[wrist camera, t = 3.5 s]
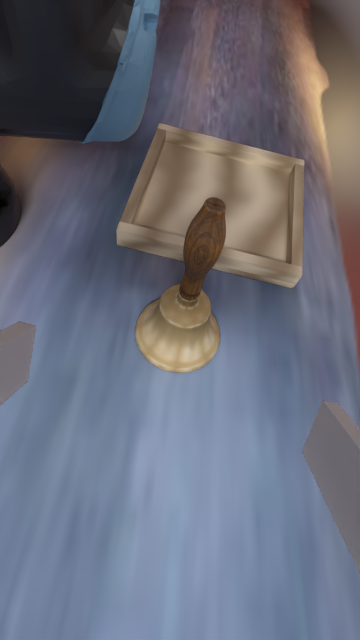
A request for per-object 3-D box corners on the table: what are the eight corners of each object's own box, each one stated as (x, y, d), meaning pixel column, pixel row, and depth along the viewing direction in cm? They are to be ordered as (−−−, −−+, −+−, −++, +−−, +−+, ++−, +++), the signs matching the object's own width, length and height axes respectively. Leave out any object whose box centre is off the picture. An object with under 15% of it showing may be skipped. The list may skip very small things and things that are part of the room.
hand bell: (124, 308, 34) (123, 169, 20) (199, 289, 36) (246, 153, 23) (151, 385, 31) (174, 280, 17) (233, 358, 33) (311, 247, 19)
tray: (116, 245, 38) (116, 229, 36) (157, 139, 48) (159, 123, 46) (292, 288, 38) (302, 275, 36) (296, 175, 48) (304, 160, 46)
